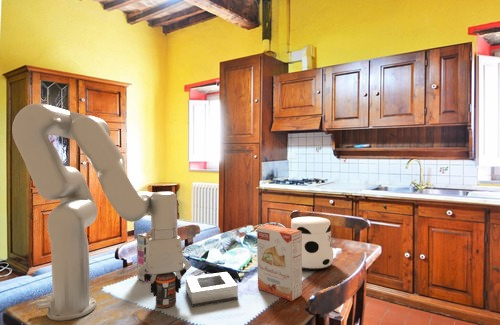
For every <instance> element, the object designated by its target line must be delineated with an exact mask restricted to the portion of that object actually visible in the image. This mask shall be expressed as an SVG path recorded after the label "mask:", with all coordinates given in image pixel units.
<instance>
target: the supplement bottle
mask: <svg viewBox="0 0 500 325" xmlns="http://www.w3.org/2000/svg"><path fill="white" fill-rule="evenodd" d="M155 282H156V296H155V305H156V307H158V308H162V309H167V308H170V307H173V306H174V305H175V304H176V302H177V293H176V273H175V272H172V273H165V274H157V275H156V278H155Z"/></svg>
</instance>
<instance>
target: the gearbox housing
mask: <svg viewBox="0 0 500 325" xmlns="http://www.w3.org/2000/svg"><path fill="white" fill-rule="evenodd" d="M238 290H239V289H238V284H237V283H236V281H235V280H234V279H233V278H232V276H231V275H230V273H228V271H223V272H216V273H209V274H208V273H207V274H203V275H196V276H189V277H188V276H187V277H185V291H186V294H187V297H188V300H189V303H190V306H191V308H197V307H203V306H209V305H215V304H219V303H220V304H221V303H227V302H231V301H237V300H238V299H239V297H238V295H239V294H238V293H239V292H238Z"/></svg>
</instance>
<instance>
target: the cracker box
mask: <svg viewBox="0 0 500 325" xmlns="http://www.w3.org/2000/svg"><path fill="white" fill-rule="evenodd" d="M256 235H257V236H256V237H257V239H256V240H257V241H256V242H257V244H256V245H257V248H256V250H257V254H256V255H257V289H258V290H260V291H261V290H262V291H263V292H267V293H269V294H271V295H275V296H277V297H280V298H282V299H285V300H286V301H287V300H288V301H290V302H293V301H295V300H296V299H298V298H300V297H301V296H303V269H302V231H300V230H294V229H291V228H289V227H284V226H280V225H274V224H263V225H259V226H257V227H256Z"/></svg>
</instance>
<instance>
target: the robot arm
mask: <svg viewBox="0 0 500 325" xmlns="http://www.w3.org/2000/svg"><path fill="white" fill-rule="evenodd" d="M11 127H12V129H11V130H12V132H11V133H12V134H11V135H12V139H13V142H14V143H15V145H16V147H17V150H18V151H19V153H20V154H19V155H21V157H22V159H23V160H22V161H24V164H25V167H26V169H27V171H28V173H29V176H30V178H31V180H32V182H33V184H34V186H35V190H36V192H37V193H38V196H40V197H41V198H42V199H45V200H47V201H58V200H59V203H60V204H58V205H56V206H55V207H54V208H52V210H51V211H50V212H49V214H48V216H47V219H46V229H47V234H48V237H49V238H48V239H49V243H50V254H51V259H50V260H51V282H52V283H51V284H52V296H50V297H48V298H46V299H45V298H43V299H37V300H36V301H35V308H38V310H44V309H47V311H46V317H47V318H48V319H49V320H51V321H68V320H73V319H78V318H81V317H83V316H86V315H87V314H90V313H91V312H92V311H94V310H95V308H96V307H97V300H96V299H95V298H93V297H91V280H90V279H91V278H90V277H91V276H90V275H91V274H90V251H89V250H90V249H89V247H90V246H89V241H88V236H87V233H86V228H88V227H90V226H91V225H92V224H94V223H95V221H96V219H97V218H98V207H97V204H96V201H95V199H94V196H93V194H92V191H91V190H90V188H89V185H88V183H87V180H86V178H85V177H84V175H83V174H82V173H81V172H80V171H79V170H78V169H77V168H75V167H73V166H69V165H64V163H63V161H62V159H61V157H60V154H59V152H58V150H57V148H56V147H55V145H54V144H53V143H52V142H51V140H50V138H49V136H57V137H62V138H66V139H70V140H74V141H75V143H76V144H77V146H78V147H79V149H80V151H82V153H83V154H84V156H85V157H86V159H87V160H88V161H89V162H88V163H90V165H91V167H92V168H93V169H94V171H95V173H96V175H97V179H98V181H99V184H100V186H101V189H102V191H103V193H104V196H105V197H106V199H107V201H108V202H109V203H110V204H111V206H112V208H113V209H114V210H115V212H116V213H117V215H119V217H121V218H122V219H123V220H124V221H126V222H131V223H132V222H134V223H135V222H137V221H140V220H141V219H143V218H144V217H145V216H147V215H150V223H151V224H150V225H151V226H150V227H151V228H150V230H146V231H145V233H146V236H148V235H149V236H151V237H152V238H150V239H149V244H148V258H147V261H146V262H145V263H144V264H143V265H142V267H141V268H140V269H139V270H138V273H139V274H140V275H142V276H143V277H144V278H145V279H147V280H148V281H147V282H149V283H150V293H151V294H152V295H153V297H156V282H155V278H156V275H157V274H165V273H172V272H173V273H175V275H176V294H179V291H180V289H181V288H182V286H181V285H182V282H181V281H182V278H183V277H184V275H185V274H186V273H187V272H188V270H189V269H190V268H191V267H192V263H191V262H190V261H189V260H187V258H185V257H184V255H183V252H184V251H183V246H182V239H181V236H180V235H178V203H177V202H178V199H177V194H176V193H175V192H174V191H169V190H168V191H157V192H156V191H155V192H151V191H145V190H143V191H142V190H136V189H135V187H134V186H133V184H132V183H131V180H130V179H129V177H128V175H127V172H126V166H125V165H126V164H125V162H126V161H125V158H124V155H123V153H122V152H121V151H120V150H119V148H118V146H117V145H116V143H115V142H114V141H113V139H112V137H111V127H110V125H109V124H108V123H107V122H106V121H105V120H104V119H102V118H99V117H96V116H93V115H89V114H88V115H87V114H86V115H85V114H82V113H79V112H75V111H71V110H69V109H65V108H61V107H58V106H55V105H52V104H51V105H50V104H47V103H39V102H37V103H31V104H28V105H26V106H24V107H23V108H21V109H19V111H18V113H17V114H16V115H15V117H14V120H13V122H12V126H11ZM147 267H148V272H149V274H148V273H147V272H145V270H146V268H147ZM150 274H151V275H150Z"/></svg>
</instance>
